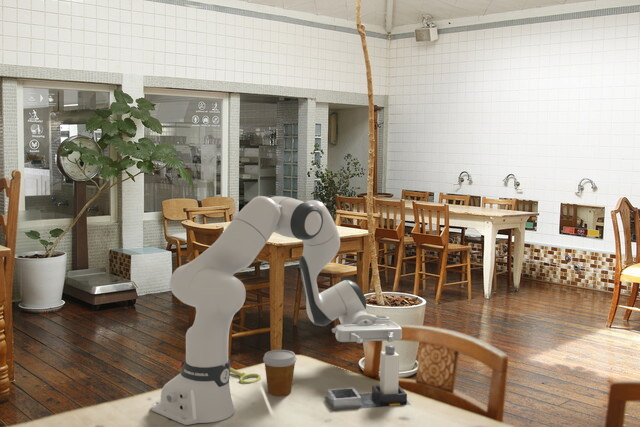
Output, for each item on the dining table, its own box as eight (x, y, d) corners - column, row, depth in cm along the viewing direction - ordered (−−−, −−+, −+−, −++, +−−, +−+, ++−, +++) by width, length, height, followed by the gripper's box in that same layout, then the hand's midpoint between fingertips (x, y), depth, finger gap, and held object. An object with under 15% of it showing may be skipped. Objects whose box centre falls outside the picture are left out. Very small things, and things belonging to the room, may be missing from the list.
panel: (332, 414, 184) (332, 401, 184) (323, 400, 194) (323, 388, 193) (410, 407, 189) (410, 395, 189) (398, 394, 199) (398, 382, 198)
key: (228, 372, 216) (228, 366, 215) (263, 378, 211) (263, 372, 211) (216, 380, 209) (216, 373, 209) (252, 386, 204) (252, 380, 204)
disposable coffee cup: (264, 388, 202) (264, 348, 200) (297, 389, 201) (297, 349, 200) (260, 401, 192) (260, 359, 191) (294, 402, 192) (295, 360, 190)
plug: (384, 401, 190) (385, 349, 189) (379, 396, 194) (380, 344, 192) (398, 400, 191) (399, 348, 189) (393, 395, 195) (394, 343, 193)
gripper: (330, 318, 213) (341, 330, 200) (393, 316, 218) (408, 328, 205) (329, 338, 214) (341, 351, 201) (392, 336, 219) (407, 349, 205)
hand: (375, 339), depth 203 cm, fingers open, 8 cm apart
